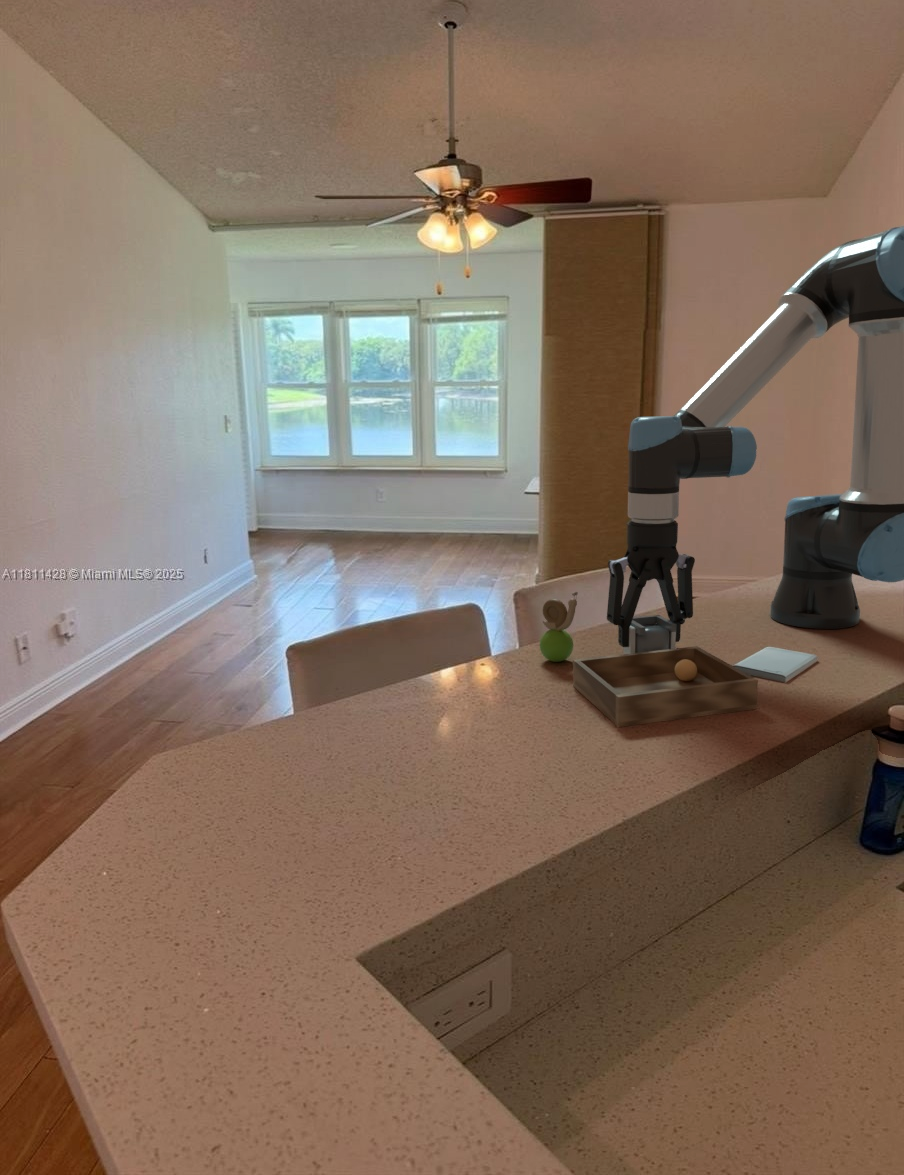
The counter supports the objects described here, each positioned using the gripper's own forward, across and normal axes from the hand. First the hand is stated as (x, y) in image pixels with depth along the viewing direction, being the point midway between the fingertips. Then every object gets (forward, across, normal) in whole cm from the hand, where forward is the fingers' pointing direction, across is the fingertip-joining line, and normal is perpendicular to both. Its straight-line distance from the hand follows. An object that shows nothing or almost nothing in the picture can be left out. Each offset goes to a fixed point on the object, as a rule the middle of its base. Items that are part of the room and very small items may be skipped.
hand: (648, 663), depth 126 cm
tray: (0, +5, +14) cm, 14 cm away
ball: (-2, -1, +10) cm, 10 cm away
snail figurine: (+1, +13, -6) cm, 14 cm away
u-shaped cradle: (0, 0, 0) cm, 0 cm away
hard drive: (+1, -18, +7) cm, 19 cm away
